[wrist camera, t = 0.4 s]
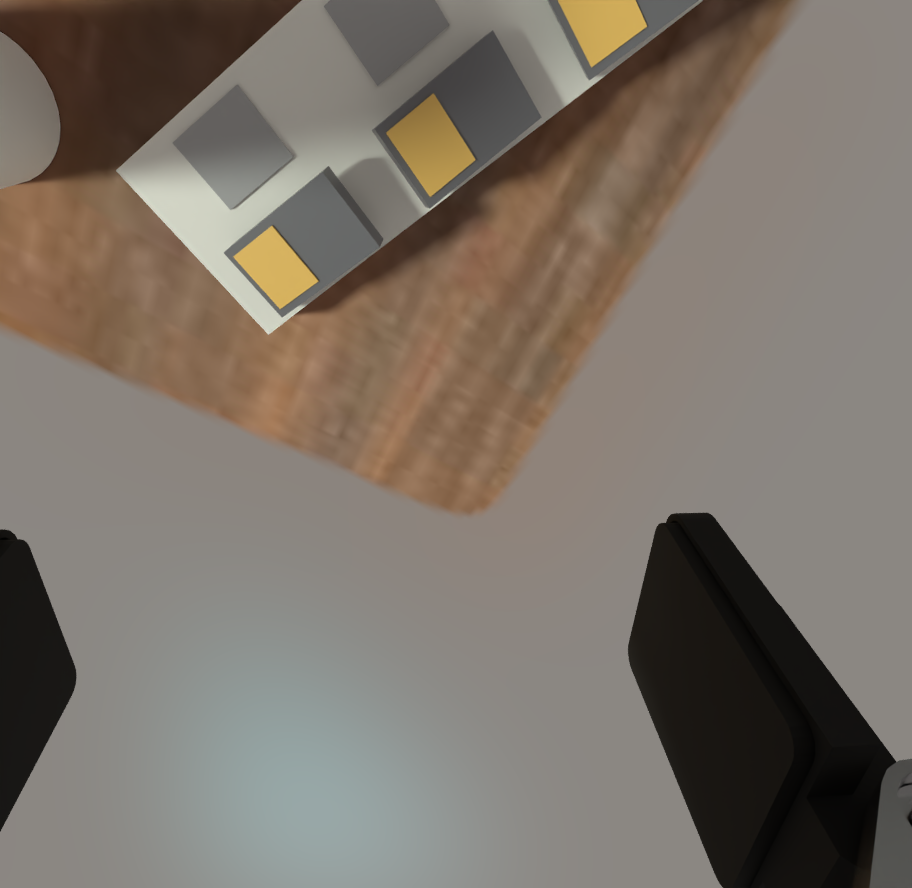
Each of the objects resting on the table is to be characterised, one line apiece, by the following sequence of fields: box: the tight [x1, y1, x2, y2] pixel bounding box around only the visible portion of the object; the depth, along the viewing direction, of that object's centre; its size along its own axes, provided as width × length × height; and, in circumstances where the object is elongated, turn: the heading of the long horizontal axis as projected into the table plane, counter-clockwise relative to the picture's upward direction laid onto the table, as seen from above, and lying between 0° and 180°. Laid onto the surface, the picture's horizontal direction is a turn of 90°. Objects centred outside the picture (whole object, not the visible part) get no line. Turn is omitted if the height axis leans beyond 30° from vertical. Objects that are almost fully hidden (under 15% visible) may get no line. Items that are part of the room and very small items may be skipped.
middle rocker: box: [372, 30, 542, 209], centre depth 28 cm, size 6×4×1 cm, turn 126°
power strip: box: [116, 0, 703, 335], centre depth 29 cm, size 31×10×3 cm, turn 125°
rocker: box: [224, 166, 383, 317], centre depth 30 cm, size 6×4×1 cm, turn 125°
